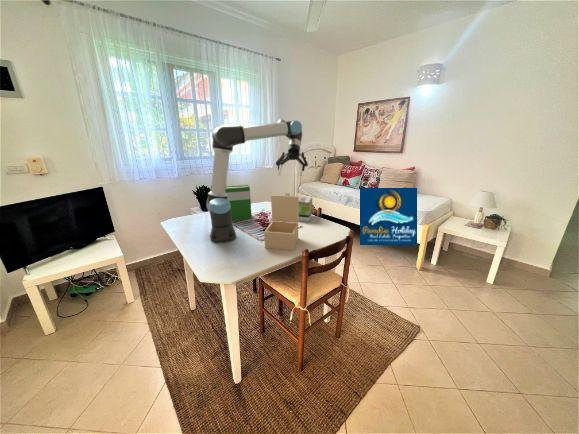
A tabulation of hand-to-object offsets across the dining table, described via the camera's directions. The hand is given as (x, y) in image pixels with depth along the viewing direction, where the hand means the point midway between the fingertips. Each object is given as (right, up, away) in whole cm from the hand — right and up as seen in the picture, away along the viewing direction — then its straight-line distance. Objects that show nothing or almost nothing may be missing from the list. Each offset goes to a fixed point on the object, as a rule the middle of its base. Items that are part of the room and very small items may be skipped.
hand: (290, 174), depth 139 cm
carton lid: (-3, -22, -7) cm, 23 cm away
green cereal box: (-38, -27, +31) cm, 56 cm away
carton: (-4, -41, -8) cm, 42 cm away
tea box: (+11, -27, +30) cm, 42 cm away
